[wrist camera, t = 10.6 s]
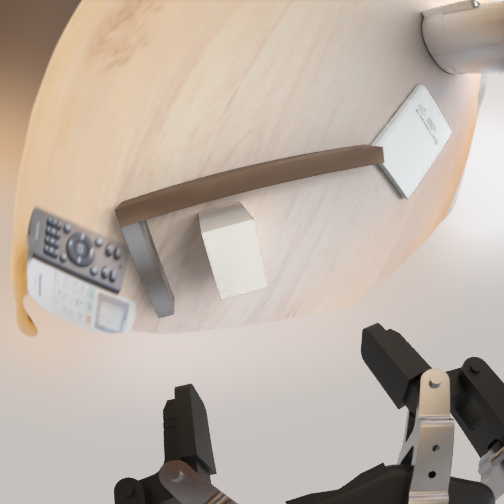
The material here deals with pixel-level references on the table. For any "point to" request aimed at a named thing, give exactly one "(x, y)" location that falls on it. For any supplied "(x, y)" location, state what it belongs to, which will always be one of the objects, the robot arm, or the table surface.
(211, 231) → the block
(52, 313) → the table surface
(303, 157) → the guide fence
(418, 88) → the external hard drive
